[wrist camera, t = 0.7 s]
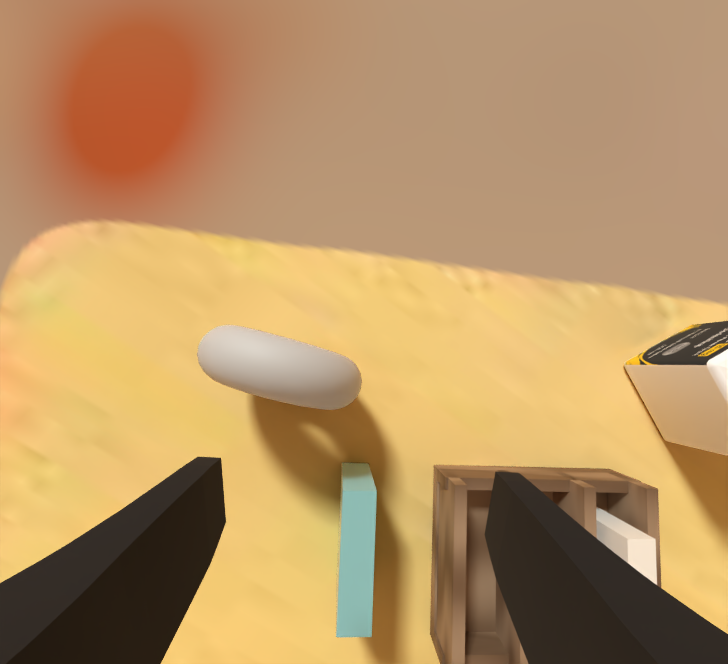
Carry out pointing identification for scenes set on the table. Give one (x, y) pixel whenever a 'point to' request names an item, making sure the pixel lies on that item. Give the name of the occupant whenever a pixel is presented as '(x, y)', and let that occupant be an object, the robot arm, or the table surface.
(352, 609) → the teal upright slab
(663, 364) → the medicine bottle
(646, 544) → the off-white rectangular block
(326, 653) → the table surface
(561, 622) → the robot arm
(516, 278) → the table surface
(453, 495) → the rack
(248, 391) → the grey donut
